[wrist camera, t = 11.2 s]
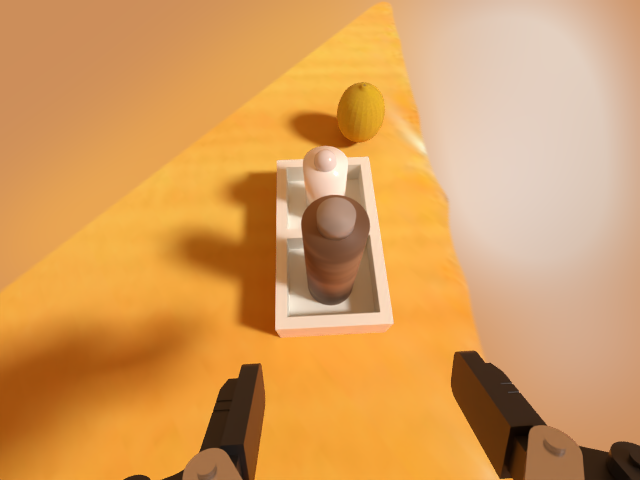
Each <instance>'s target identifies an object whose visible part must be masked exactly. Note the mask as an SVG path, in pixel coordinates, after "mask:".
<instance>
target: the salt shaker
mask: <svg viewBox="0 0 640 480" xmlns="http://www.w3.org/2000/svg"><path fill="white" fill-rule="evenodd" d="M347 171H348V160H347V157H346V155H345V154H344V153H343V152H342V151H341V150H339V149H337V148H335V147H332V146H320V147H316V148H314V149H312V150H310V151H309V152H308V153H307V154H306V155H305V157H304V160H303V173H304V183H305V194H306V204H307V207H308V206H309V205H310V204H311V203H312V202H313V201H315V200H317V199H319V198H321V197H324V196H328V195H342V196H345V190H346V180H347Z"/></svg>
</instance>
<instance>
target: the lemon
mask: <svg viewBox="0 0 640 480" xmlns="http://www.w3.org/2000/svg"><path fill="white" fill-rule="evenodd" d="M384 113H385V107H384V99H383V96H382V94H381V92H380V91H379V90H378V89H377V88H376V87H375V86H373V85H372V84H369V83H364V82H361V83H357V84H354V85H352V86H350V87H349V88H348V89H347V90H346V91H345V92H344V94H343V95H342V97H341V99H340V102H339V105H338V110H337V122H338V127H339V129H340V131H341V133H342V134H343V135H344V136H345V137H346V138H347V139H349V140H350V141H353V142H365V141H367V140H370V139H371V138H373V137H374V136H375V135H376V134H377V132H378V131H379V129H380V128H381V126H382V123H383V119H384Z"/></svg>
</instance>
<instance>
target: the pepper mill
mask: <svg viewBox="0 0 640 480" xmlns="http://www.w3.org/2000/svg"><path fill="white" fill-rule="evenodd" d="M301 230H302V239H303V247H304V256H305V265H306V274H307V282H308V289H309V292H310V294H311V295H312V297H313V298H314V299H315V300H316V301H318V302H319V303H321V304H324V305H330V306H332V305H337V304H340V303H342V302H344V301H345V300H346V299H347V298H348V297H349V296H350V294H351V292H352V288H353V285H354V282H355V278H356V275H357V272H358V268H359V265H360V262H361V258H362V255H363V252H364V248H365V245H366V242H367V238H368V235H369V231H370V220H369V217H368V214H367V212H366V211H365V209H364V208H363V207H362V206H361V205H360V204H359V203H358V202H357V201H355V200H353V199H351V198H349V197H346V196H342V195H328V196H324V197H321V198H319V199H317V200H315V201H313V202H312V203H311V204H310V205H309V206H308V207H307V208H306V210H305V211H304V213H303V216H302V220H301Z"/></svg>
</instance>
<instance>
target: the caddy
mask: <svg viewBox="0 0 640 480" xmlns="http://www.w3.org/2000/svg"><path fill="white" fill-rule="evenodd" d="M303 160H304V159H300V160H277V210H276V308H275V330H276V332H277V333H278V335H279V336H280V338H281V337H300V336H319V335H338V334H357V333H377V332H386V331H387V330H388V329H389V328H390V327H391V326H392V325H393V324H394V322H393V315H392V309H391V302H390V295H389V289H388V282H387V275H386V269H385V262H384V255H383V249H382V242H381V235H380V229H379V222H378V215H377V209H376V202H375V195H374V189H373V182H372V175H371V169H370V162H369V157H351V158H347V160H348V171H347V180H346V190H345V196H346V197H349V198H351V199H353V200H355V201H357V202H358V203H359V204H360V205H361V206H362V207H363V208H364V209H365V211H366V212H367V214H368V217H369V220H370V231H369V235H368V238H367V242H366V245H365V248H364V252H363V255H362V258H361V262H360V265H359V268H358V272H357V275H356V278H355V282H354V285H353V288H352V292H351V294H350V296H349V297H348V298H347V299H346V300H345V301H344V302H342V303H340V304H337V305H332V306H330V305H324V304H321V303H319V302H318V301H316V300H315V299H314V298H313V297H312V295H311V294H310V292H309V289H308V282H307V274H306V265H305V256H304V247H303V239H302V230H301V220H302V216H303V213H304V211H305V210H306V208H307V204H306V194H305V183H304V173H303Z"/></svg>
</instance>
